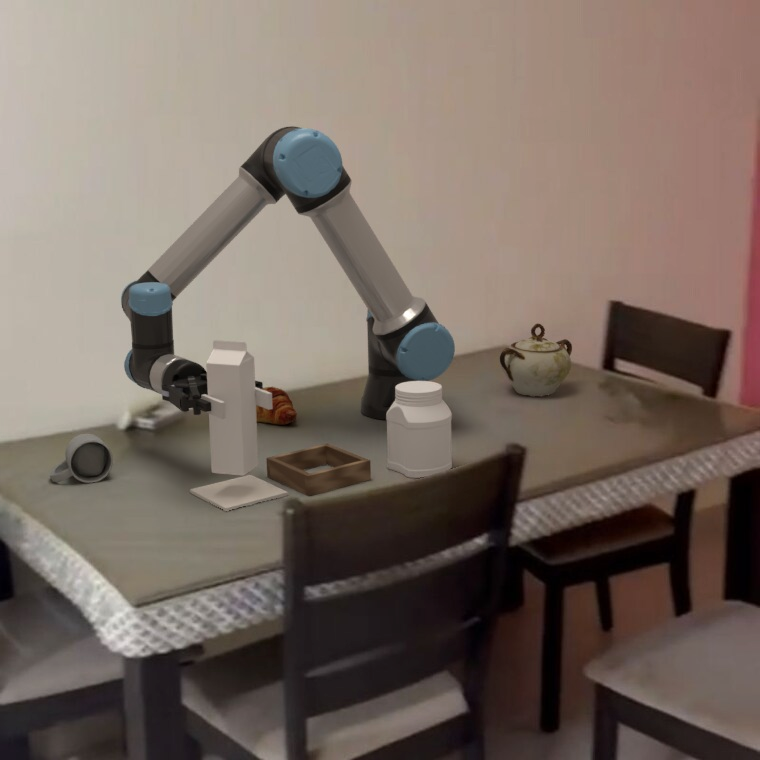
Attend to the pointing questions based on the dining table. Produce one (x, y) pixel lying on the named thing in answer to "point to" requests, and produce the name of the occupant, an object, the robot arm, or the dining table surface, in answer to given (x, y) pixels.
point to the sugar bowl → (536, 364)
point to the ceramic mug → (84, 460)
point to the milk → (233, 408)
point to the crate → (343, 473)
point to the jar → (419, 430)
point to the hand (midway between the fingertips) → (247, 405)
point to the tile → (238, 492)
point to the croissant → (277, 408)
